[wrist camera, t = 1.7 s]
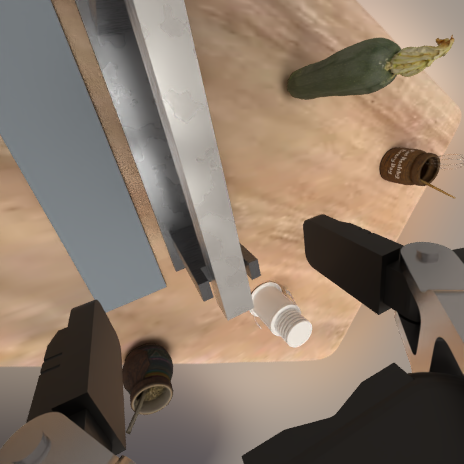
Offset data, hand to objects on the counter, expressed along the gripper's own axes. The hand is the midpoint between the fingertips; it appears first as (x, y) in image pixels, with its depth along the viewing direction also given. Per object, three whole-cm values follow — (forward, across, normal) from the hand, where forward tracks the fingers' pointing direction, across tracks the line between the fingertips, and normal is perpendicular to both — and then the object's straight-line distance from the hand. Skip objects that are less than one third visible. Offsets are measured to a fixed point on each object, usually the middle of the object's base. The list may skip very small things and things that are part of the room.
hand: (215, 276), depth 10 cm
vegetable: (+27, -21, -6) cm, 35 cm away
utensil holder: (+28, -42, +11) cm, 51 cm away
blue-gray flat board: (+27, +7, -2) cm, 28 cm away
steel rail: (+15, -4, -2) cm, 15 cm away
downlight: (+28, -13, +27) cm, 41 cm away
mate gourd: (+27, +9, +28) cm, 40 cm away
